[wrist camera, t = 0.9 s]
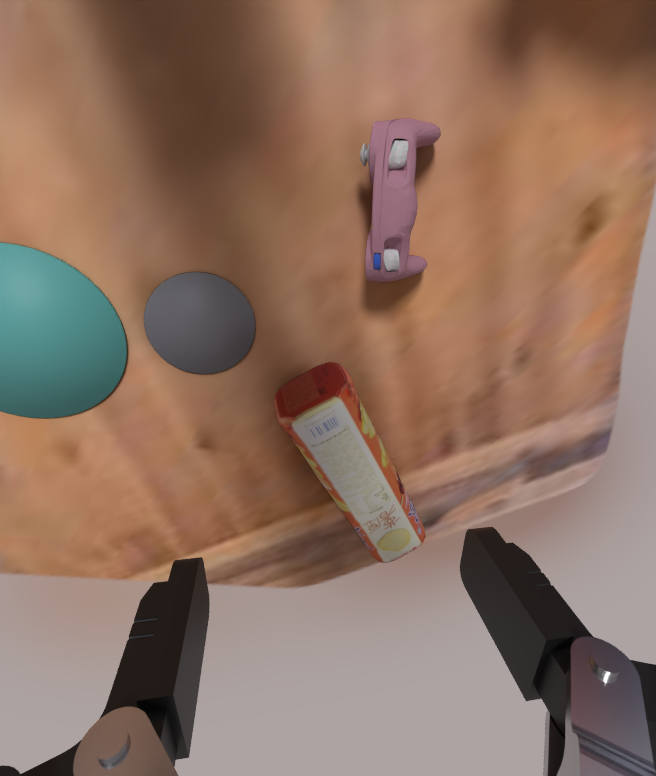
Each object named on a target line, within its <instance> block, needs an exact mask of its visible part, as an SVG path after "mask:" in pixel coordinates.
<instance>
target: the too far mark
mask: <svg viewBox="0 0 656 776" xmlns="http://www.w3.org/2000/svg"><path fill="white" fill-rule="evenodd" d="M144 325H145V331H146V334H147V337H148V339H149V341H150V343H151V345H152V347H153V348H154V350H155V351H156V352H157V353H158V354H159V355H160V356H161V357H162V358H163V359H164V360H165V361H167V362H168V363H169V364H171V365H173V366H175V367H176V368H179V369H181V370H184V371H187V372H191V373H196V374H211V373H217V372H221V371H224V370H226V369H229V368H230V367H232V366H234V365H235V364H237V363H238V362H239V361H240V360H241V359H242V358H244V356H245V355H246V354H247V352H248V351H249V349H250V347H251V345H252V343H253V340H254V336H255V319H254V314H253V311H252V308H251V306H250V304H249V302H248V300H247V299H246V297H245V296H244V295H243V293H242V292H241V291H240V290H239V289H238V288H237V287H236V286H234V285H233V284H232V283H230V282H229V281H227V280H225V279H223V278H221V277H219V276H216V275H213V274H209V273H204V272H188V273H182V274H178V275H176V276H173V277H171V278H169V279H167V280H166V281H164V282H163V283H162V284H160V285H159V286H158V287H157V288H156V289H155V290H154V292H153V293H152V295H151V296H150V298H149V300H148V302H147V305H146V308H145V314H144Z"/></svg>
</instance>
